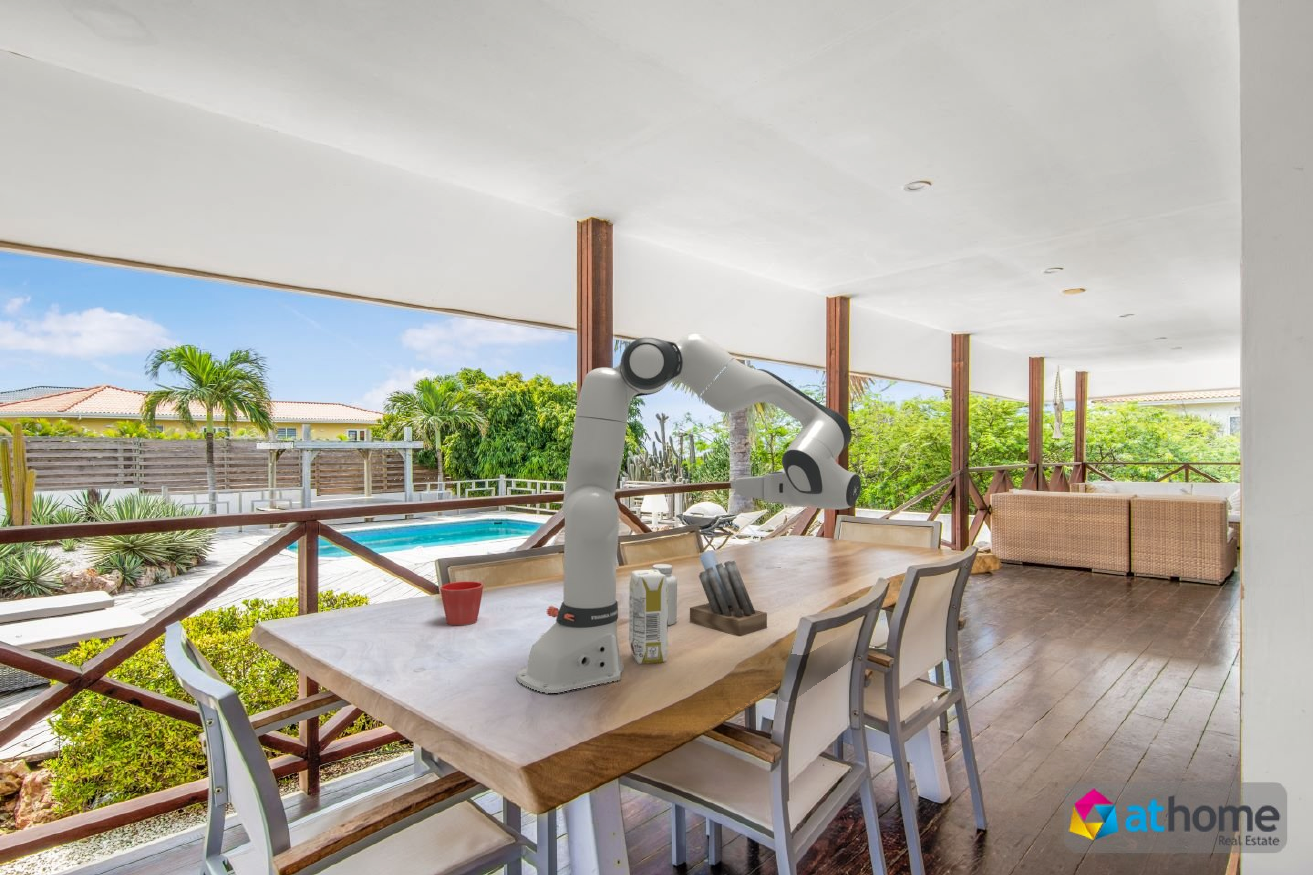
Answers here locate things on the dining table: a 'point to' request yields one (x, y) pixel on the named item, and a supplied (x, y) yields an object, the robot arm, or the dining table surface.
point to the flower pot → (461, 602)
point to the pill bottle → (669, 590)
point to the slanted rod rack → (726, 619)
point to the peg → (710, 561)
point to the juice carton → (648, 616)
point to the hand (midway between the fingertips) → (745, 483)
